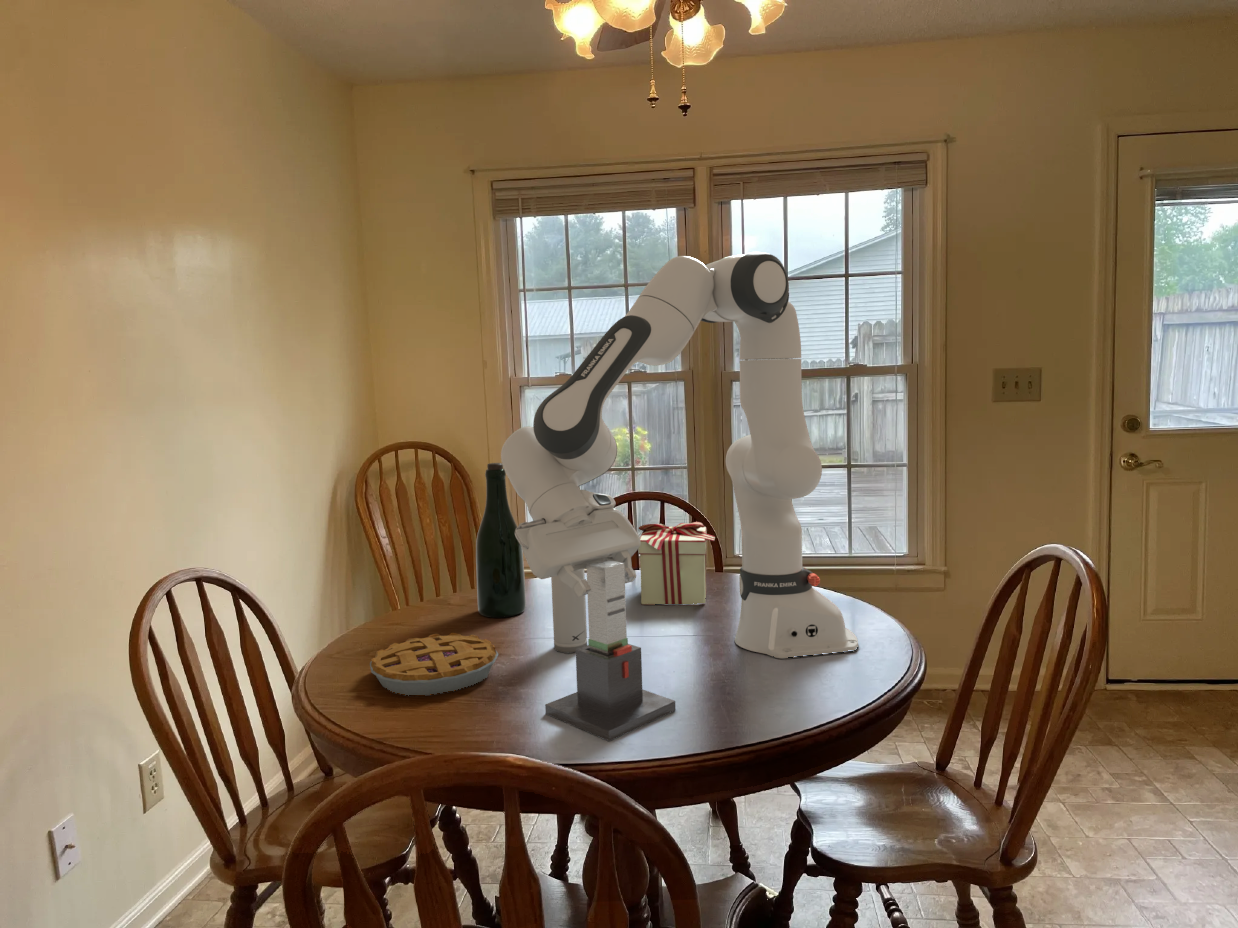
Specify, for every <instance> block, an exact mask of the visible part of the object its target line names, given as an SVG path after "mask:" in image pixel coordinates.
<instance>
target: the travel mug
mask: <svg viewBox="0 0 1238 928" xmlns="http://www.w3.org/2000/svg"><path fill="white" fill-rule="evenodd" d="M573 573H574V574H575V575H576V576H577V577H579V578H580V579H581V580H584V579H585V577H586V576H585V575H586V573H585V569H581V570H578V571H574V572H573ZM550 578H551V579H550V580H551V601H552V604H551V605H552V625H553V626H552V627H553V628H552V629H553V646H554V647H553V648H554V649H555V651H557V652H559V653H562V654H563V653H565V654H570V653H571V654H573V653H575V654H576V649H578V648H581V647H584V646H587V645H588V639H587V638H588V631H587V630H588V629H587V628H588V625H587V608H586V607H587V604H586V603H587V602H586V601H587V600H586V595H583V596H580V597H579V596H578V595H577V594H576V592H575V590H574V589H573V588H571V587H570V586H568V585H567V584H565V583H564V582H562V581H561V580H560V578H559V576H554V577H550Z"/></svg>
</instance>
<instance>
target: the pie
mask: <svg viewBox="0 0 1238 928" xmlns="http://www.w3.org/2000/svg"><path fill="white" fill-rule="evenodd" d="M498 657H499V653H498V651H497V650H496V646H495V644H492V641H490V640H489V639H488V638H485V639H484V638H483V639H480V637H479V636H478V635H475V634H470V635H461V633H458V632H457V633H456V632H450V633H449V634H448V635H440V634H439V633H433V634H430V635H428V636H427V637H422V638H420V637H410V638H407V639H406V640H405V642H400V643H397V642H393V643H392V644H390V645H388V647H387V648H386V649H382V648H381V649H379V650H377V651H376V652H375V654H374V657H373V658H372V657H371V661H370V662H369V667H370V673H371V674H373V675H374V676H376V678H377V680H378V681H379V683H380V685H381V686H382V687H383V688H384V689H386V688H387V689H386V690H388V691H389V690H390V691H389V692H391V691H392V692H391V693H393V692H395V693H394V694H397V693H400V694H399V695H401V694H405V695H404V696H406V695H408V696H407V697H410V696H409V695H425V696H431V695H430V694H434V695H438V694H437V693H440V694H444V693H443V692H447V693H449V692H448V691H453V692H455V691H454V690H456V691H459V690H462V689H461V688H463V689H465V688H464V687H466V688H468V686H469V687H472V686H474V684H475V685H476V683H477V684H479V683H480V682H483V681H484V680H485V678H486V679H487V678H488V676H489V674H490V672H491V669H492V667H493V665H494V664H495V662H496V660H497V658H498ZM483 679H484V680H483ZM478 682H479V683H478ZM471 685H472V686H471ZM458 689H459V690H458Z"/></svg>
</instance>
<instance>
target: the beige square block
mask: <svg viewBox="0 0 1238 928" xmlns="http://www.w3.org/2000/svg"><path fill="white" fill-rule="evenodd" d="M586 567H587V568H586V580H587V582H588V585H590V587H591V590H590V592H588V594H587V614H588V615H587V617H588V618H587V620H588V639H587V645H589V646H590V651H592V652H595V653H598V654H601V655H604V656H607V657H608V656H611V655H614V653H613V650H615V649H617V648H620V647H623V646H626V645H628V644H629V640H628V639H629V638H628V635H627V610H626V609H627V607H626V604H627V603H626V583H625V570H624V563H621V562H616V561H611V560H602V561H598V562H594V563H590V564H586Z"/></svg>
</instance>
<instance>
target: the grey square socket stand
mask: <svg viewBox="0 0 1238 928" xmlns="http://www.w3.org/2000/svg"><path fill="white" fill-rule="evenodd" d="M613 653H614V655H611V656H608V657H607V656H604V655H601V654H598V653H595V652H592V651H590V646H589V645H588V644H587V646H584V647H581V648H578V649H576V652H575V666H576V667H575V668H576V692H573V693H571V694H568V695H566V696H563V697H561V698H559V699H555V700H553V701H551V702H548V703H546V704H545V705H544V706H545V707H544V708H545V715H548V716H550V717H552V718H554V719H557V720H559V721H561V722H563V723H566V724H568V725H571V726H573V727H575V728H578V729H579V730H582V731H584V732H587V733H589V734H591V735H593V736H596V737H598V738H601V739H603V740H606V741H607V742H611V741H614V740H615V739H617V738H619V737H622V736H623V735H626V734H628V733H630V732H633V731H634V730H637V729H639V728H641V727H643V726H645V725H647V724H649V723H652V722H654V721H655V720H657V719H660V718H662V717H665V716H666V715H669V714H671V713H673V712H675V711H676V710H677V709H676V700H673V699H671V698H668V697H666V696H663V695H659V694H657V693H654V692H651V691H649V690H645V689H643V668H642V666H643V665H642V647H641V646H636V645H633V644H630V643H628V645H626V646H623V647H620V648H617V649H615V650H613Z"/></svg>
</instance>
